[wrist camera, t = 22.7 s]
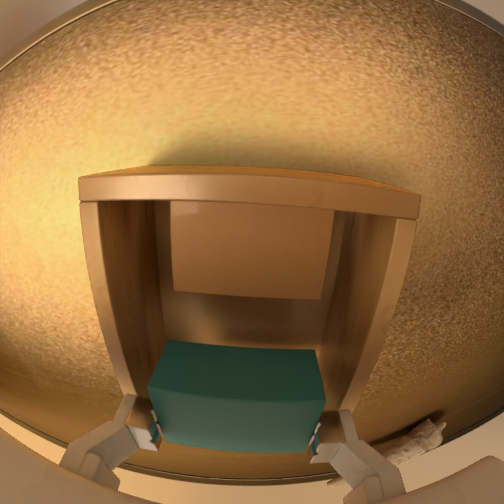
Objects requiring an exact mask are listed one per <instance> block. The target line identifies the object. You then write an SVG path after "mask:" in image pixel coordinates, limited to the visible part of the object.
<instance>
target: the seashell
mask: <svg viewBox="0 0 504 504" xmlns="http://www.w3.org/2000/svg"><path fill="white" fill-rule="evenodd" d="M445 426H446V422H441V423H440V424H439V425H438V426H436V425H434V424H433V423H432V422H431V421H430V419H429V418H428V419H427V420H425V421H423V422H422V423H420V424H419V425H418V426H416V427H415V428H413V429H412V431H411V432H410V433H409V434H407V435H405V436H403V438H402V439H401V440H400V441H398V442H397V443H395V444H394V445H393V446H392V447H390V448H388V449H386V450H385V451H384V452H383V453H381V455H382V456H383V457H384V458H386V459H387V460H388V461H389V462H391V463H392V464H393V465H398V464H400V463H402V462H404V461H407V460H409V459H411V458H413V457H415V456H418V455H420V454H421V453H424V452H426V451H428V450H431V449H433V448H435V447H437V446H438V445H440V444H441V442H442V439H443V438H442V435H441V431H442V429H443V428H444V427H445ZM345 483H347V482H346V481H345V480H344V479H343V477H342V476H339V477H337V478H335V479H332V480H330V481H328V483H327V485H328V487H329V488H330V487H334V486H338V485H342V484H345Z"/></svg>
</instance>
